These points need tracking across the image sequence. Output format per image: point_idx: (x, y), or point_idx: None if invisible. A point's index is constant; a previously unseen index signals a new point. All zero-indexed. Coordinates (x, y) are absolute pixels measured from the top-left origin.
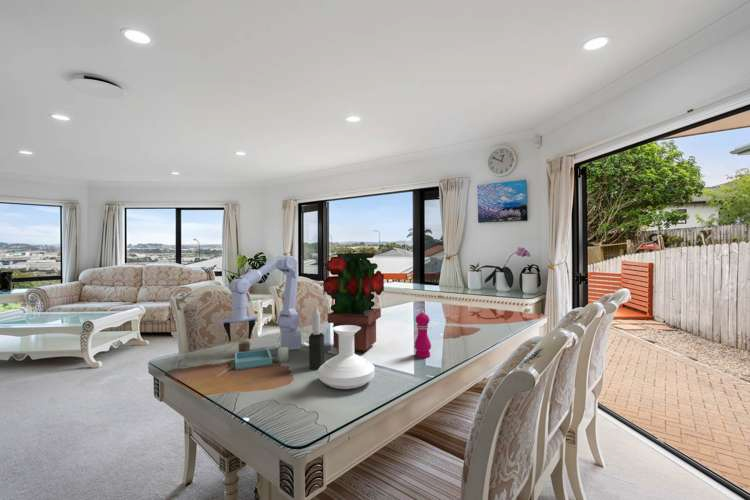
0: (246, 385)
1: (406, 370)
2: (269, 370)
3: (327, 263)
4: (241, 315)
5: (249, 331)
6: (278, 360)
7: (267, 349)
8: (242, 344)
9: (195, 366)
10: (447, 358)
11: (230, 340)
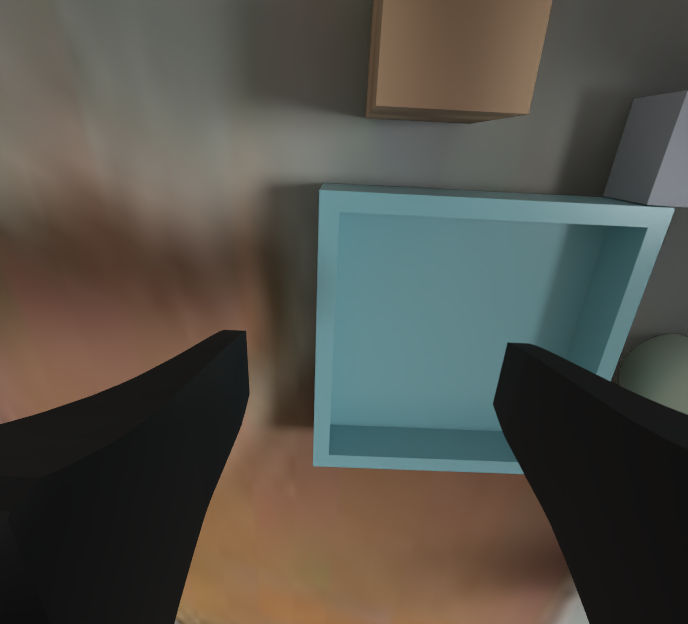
0: (352, 613)
1: None
2: (499, 504)
3: None
4: None
5: (556, 526)
6: (622, 384)
7: (655, 225)
8: (426, 109)
9: (7, 215)
10: None
11: (242, 404)
